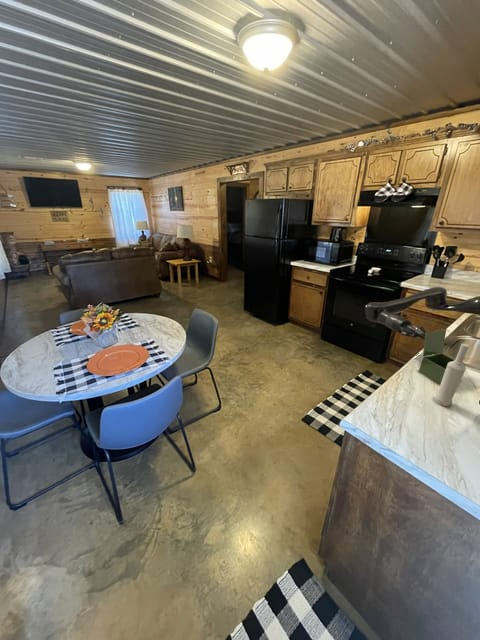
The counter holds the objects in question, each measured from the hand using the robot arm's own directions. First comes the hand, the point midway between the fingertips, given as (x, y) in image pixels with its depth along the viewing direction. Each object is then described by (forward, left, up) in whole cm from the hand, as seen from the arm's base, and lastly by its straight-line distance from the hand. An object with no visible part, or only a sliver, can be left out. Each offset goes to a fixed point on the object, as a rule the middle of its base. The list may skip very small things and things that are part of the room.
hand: (429, 339), depth 117 cm
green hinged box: (+3, +8, -14) cm, 16 cm away
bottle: (+21, +15, -14) cm, 29 cm away
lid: (+1, +3, -1) cm, 3 cm away
